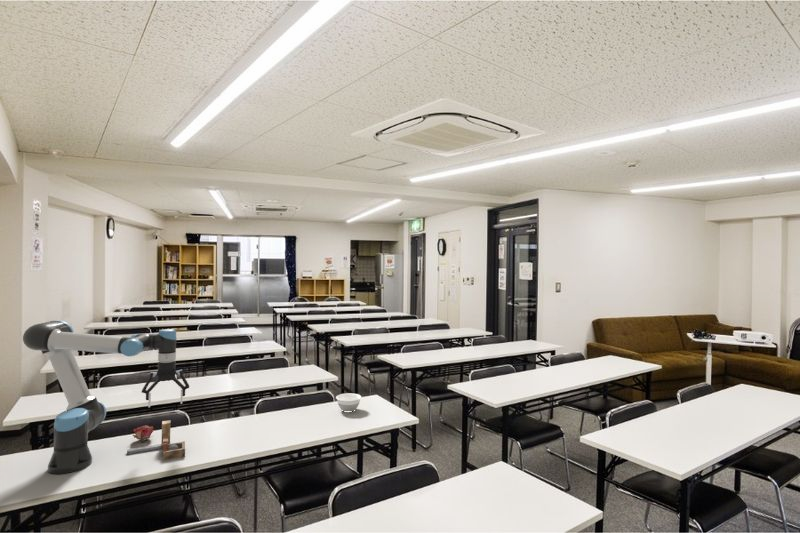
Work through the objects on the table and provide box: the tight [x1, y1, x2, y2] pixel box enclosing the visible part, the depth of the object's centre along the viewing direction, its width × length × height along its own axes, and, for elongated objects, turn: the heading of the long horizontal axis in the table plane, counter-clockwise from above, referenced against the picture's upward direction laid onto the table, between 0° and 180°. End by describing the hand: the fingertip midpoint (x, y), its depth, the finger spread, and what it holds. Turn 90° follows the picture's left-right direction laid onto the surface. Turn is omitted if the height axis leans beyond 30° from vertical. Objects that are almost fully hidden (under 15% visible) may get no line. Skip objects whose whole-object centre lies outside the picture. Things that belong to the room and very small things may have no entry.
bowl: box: [335, 392, 362, 411], centre depth 260 cm, size 16×16×9 cm
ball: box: [168, 444, 179, 451], centre depth 194 cm, size 4×4×4 cm
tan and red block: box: [160, 419, 172, 452], centre depth 198 cm, size 4×14×12 cm, turn 28°
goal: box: [162, 440, 186, 461], centre depth 194 cm, size 9×10×4 cm
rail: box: [126, 442, 172, 455], centre depth 199 cm, size 18×2×2 cm, turn 118°
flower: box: [132, 424, 154, 444], centre depth 209 cm, size 10×9×8 cm
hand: (165, 404), depth 202 cm, fingers open, 13 cm apart
